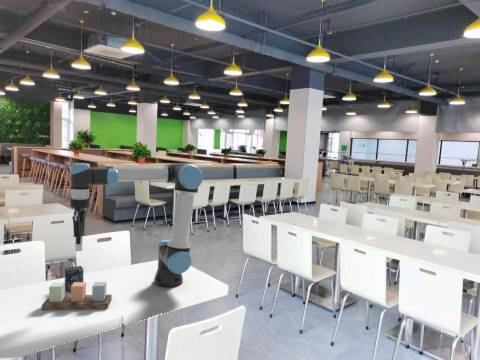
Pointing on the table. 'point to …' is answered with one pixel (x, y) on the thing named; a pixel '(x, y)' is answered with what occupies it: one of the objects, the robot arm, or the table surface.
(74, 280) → the box
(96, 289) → the slate button
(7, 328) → the table surface
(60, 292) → the pale green block
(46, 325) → the table surface
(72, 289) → the orange block
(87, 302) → the panel
